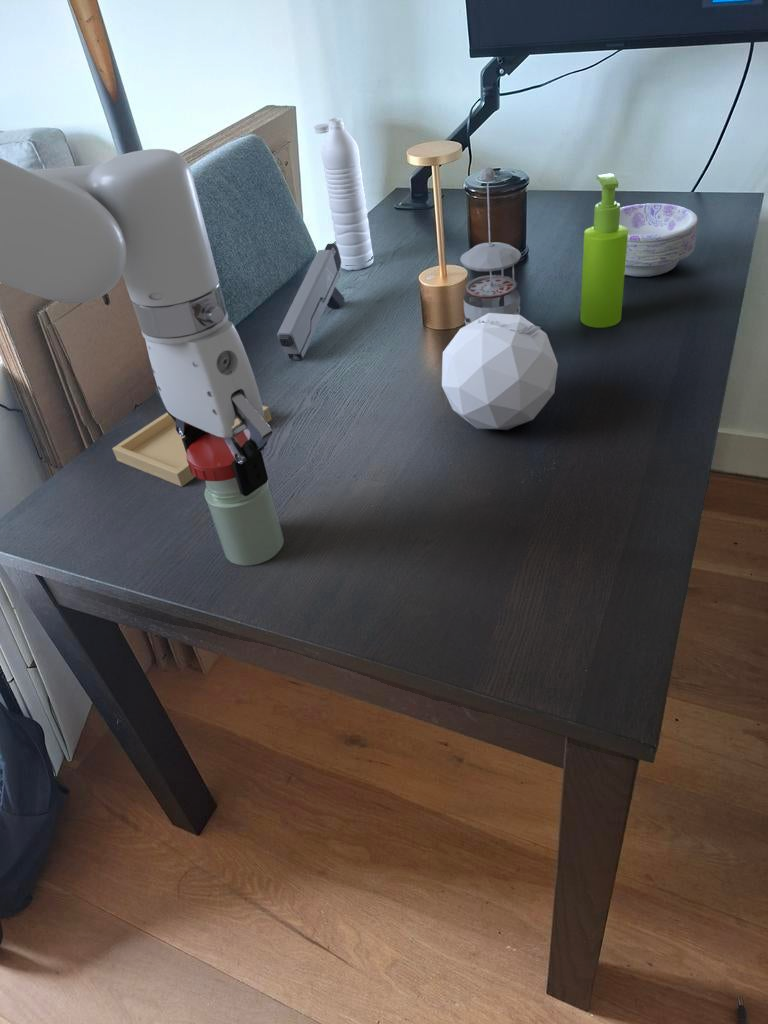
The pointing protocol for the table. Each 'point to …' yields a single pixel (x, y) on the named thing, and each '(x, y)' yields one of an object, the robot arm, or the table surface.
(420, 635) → the table surface
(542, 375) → the geodesic sphere
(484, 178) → the french press
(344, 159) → the water bottle
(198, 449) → the jar lid
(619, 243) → the soap dispenser
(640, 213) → the paper bowls
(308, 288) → the gun
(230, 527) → the jam jar
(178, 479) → the tray
